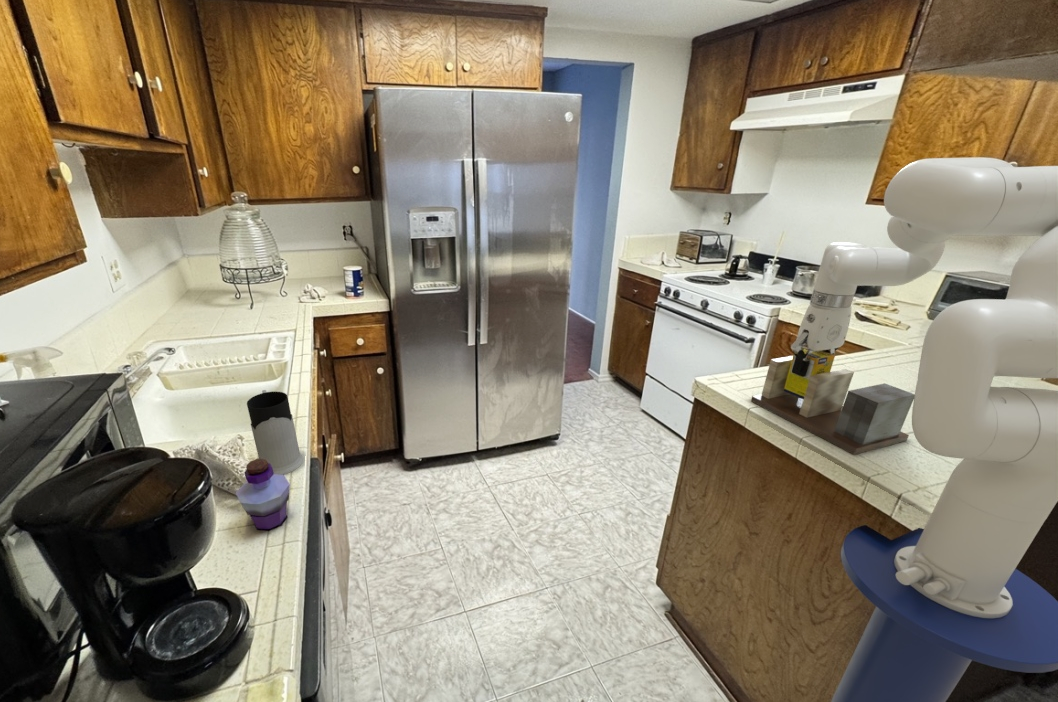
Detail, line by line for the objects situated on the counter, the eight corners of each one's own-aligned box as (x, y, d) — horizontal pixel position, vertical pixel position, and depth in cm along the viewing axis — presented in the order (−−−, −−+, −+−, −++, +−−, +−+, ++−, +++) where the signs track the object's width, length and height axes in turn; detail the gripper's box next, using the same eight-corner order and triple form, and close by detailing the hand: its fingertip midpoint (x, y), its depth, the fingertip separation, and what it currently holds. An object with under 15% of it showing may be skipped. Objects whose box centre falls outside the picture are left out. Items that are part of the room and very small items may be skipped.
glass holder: (261, 480, 93) (245, 414, 86) (254, 446, 104) (239, 386, 98) (306, 467, 96) (294, 403, 90) (295, 436, 108) (283, 377, 102)
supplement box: (823, 396, 113) (836, 354, 109) (805, 401, 111) (818, 358, 107) (799, 387, 118) (811, 346, 114) (782, 391, 116) (794, 350, 112)
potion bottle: (298, 500, 87) (286, 445, 82) (294, 532, 79) (281, 473, 74) (248, 508, 85) (233, 453, 80) (239, 542, 77) (222, 483, 72)
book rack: (853, 454, 97) (872, 406, 93) (750, 401, 120) (761, 359, 115) (906, 440, 102) (926, 393, 97) (797, 391, 125) (809, 351, 120)
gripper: (818, 307, 99) (796, 384, 107) (876, 299, 104) (850, 373, 112) (787, 299, 106) (768, 371, 113) (842, 292, 111) (820, 362, 118)
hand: (809, 371), depth 112 cm, fingers closed on supplement box, 6 cm apart
